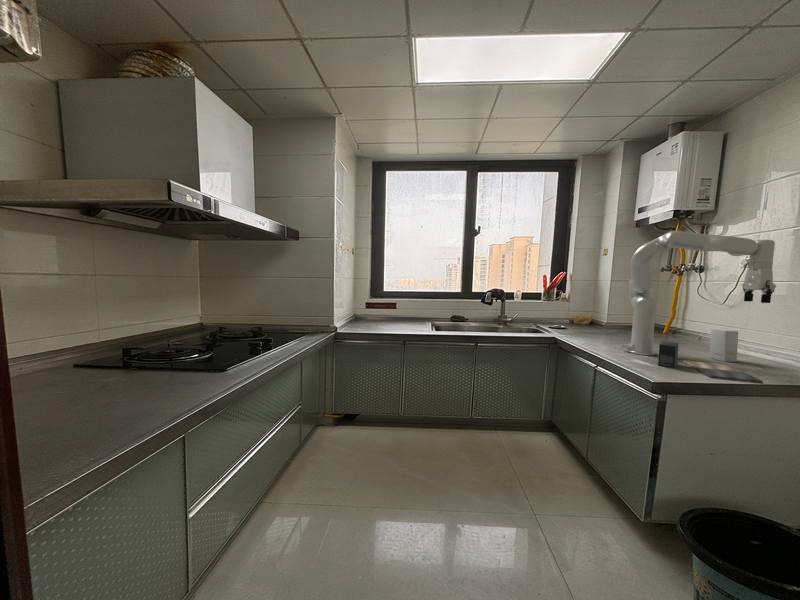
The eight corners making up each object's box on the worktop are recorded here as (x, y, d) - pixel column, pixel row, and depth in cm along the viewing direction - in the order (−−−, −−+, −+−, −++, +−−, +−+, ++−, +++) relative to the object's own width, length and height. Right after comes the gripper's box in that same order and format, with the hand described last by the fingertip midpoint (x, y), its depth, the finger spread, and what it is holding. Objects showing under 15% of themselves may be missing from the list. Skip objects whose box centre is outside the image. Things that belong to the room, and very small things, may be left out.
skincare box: (737, 362, 158) (740, 331, 156) (723, 362, 158) (726, 331, 156) (720, 357, 166) (723, 328, 165) (707, 357, 166) (710, 328, 165)
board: (710, 377, 132) (710, 375, 132) (682, 362, 156) (683, 360, 156) (762, 383, 126) (762, 380, 126) (725, 366, 150) (725, 364, 150)
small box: (660, 361, 157) (661, 340, 156) (677, 364, 152) (679, 342, 152) (656, 365, 150) (658, 343, 149) (675, 368, 145) (677, 346, 144)
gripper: (736, 266, 161) (733, 300, 162) (766, 265, 144) (762, 303, 145) (754, 266, 159) (751, 301, 160) (787, 265, 142) (783, 303, 143)
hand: (756, 302), depth 153 cm, fingers open, 9 cm apart
